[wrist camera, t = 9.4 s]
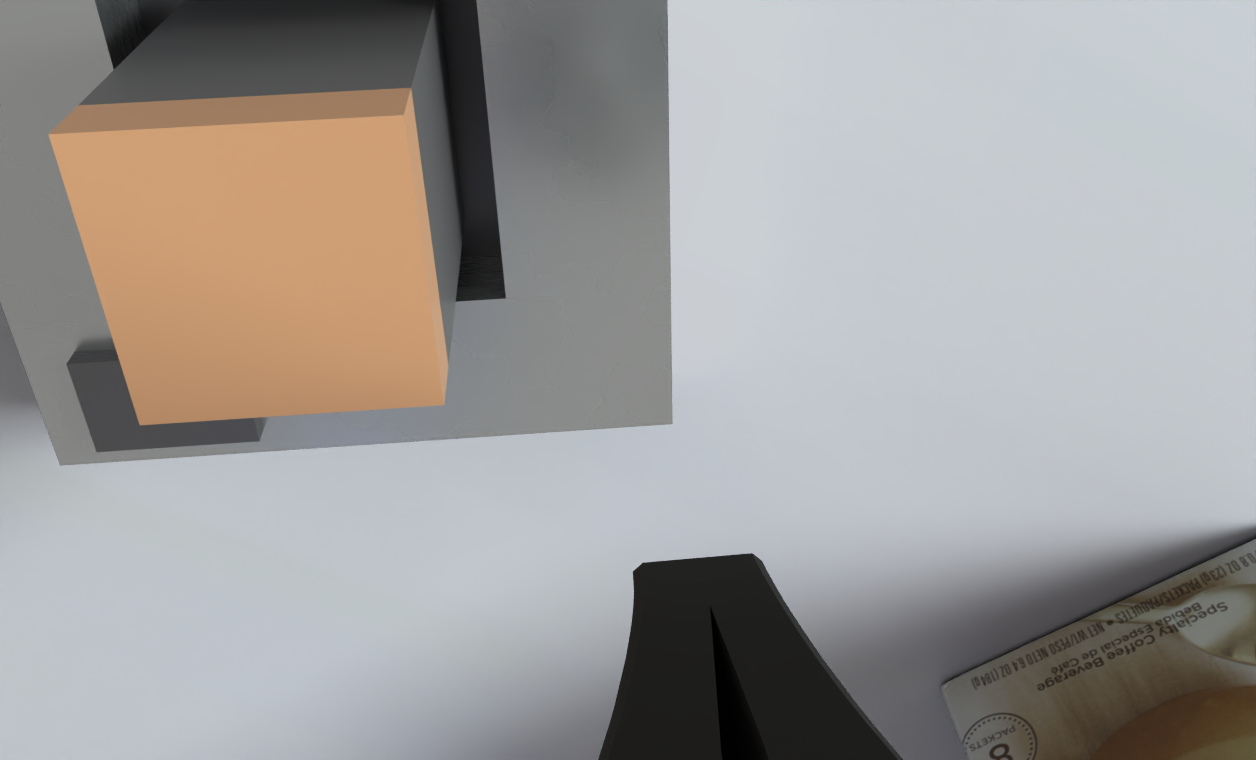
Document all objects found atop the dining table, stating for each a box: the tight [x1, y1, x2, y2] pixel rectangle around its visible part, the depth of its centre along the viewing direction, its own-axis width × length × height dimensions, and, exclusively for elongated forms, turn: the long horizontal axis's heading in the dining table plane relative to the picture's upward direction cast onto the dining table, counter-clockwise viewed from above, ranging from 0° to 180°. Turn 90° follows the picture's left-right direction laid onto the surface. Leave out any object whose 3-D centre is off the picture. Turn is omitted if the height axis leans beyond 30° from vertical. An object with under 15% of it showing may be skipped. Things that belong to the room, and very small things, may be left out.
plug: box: [48, 0, 465, 425], centre depth 17 cm, size 4×4×6 cm
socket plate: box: [0, 0, 672, 465], centre depth 18 cm, size 11×11×2 cm
